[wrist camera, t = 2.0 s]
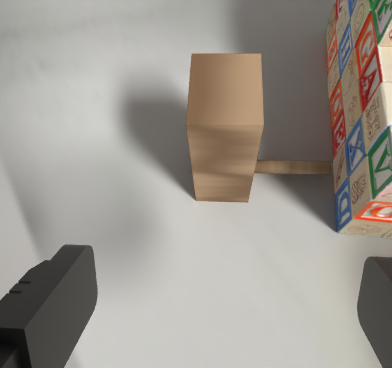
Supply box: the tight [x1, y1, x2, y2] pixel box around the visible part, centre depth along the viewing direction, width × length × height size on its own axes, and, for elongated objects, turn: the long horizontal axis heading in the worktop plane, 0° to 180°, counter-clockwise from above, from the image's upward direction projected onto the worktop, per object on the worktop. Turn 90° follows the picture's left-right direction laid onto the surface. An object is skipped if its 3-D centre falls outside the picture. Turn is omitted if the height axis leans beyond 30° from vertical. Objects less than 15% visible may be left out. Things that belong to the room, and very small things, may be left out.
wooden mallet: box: [186, 54, 331, 202], centre depth 23 cm, size 10×5×10 cm, turn 87°
